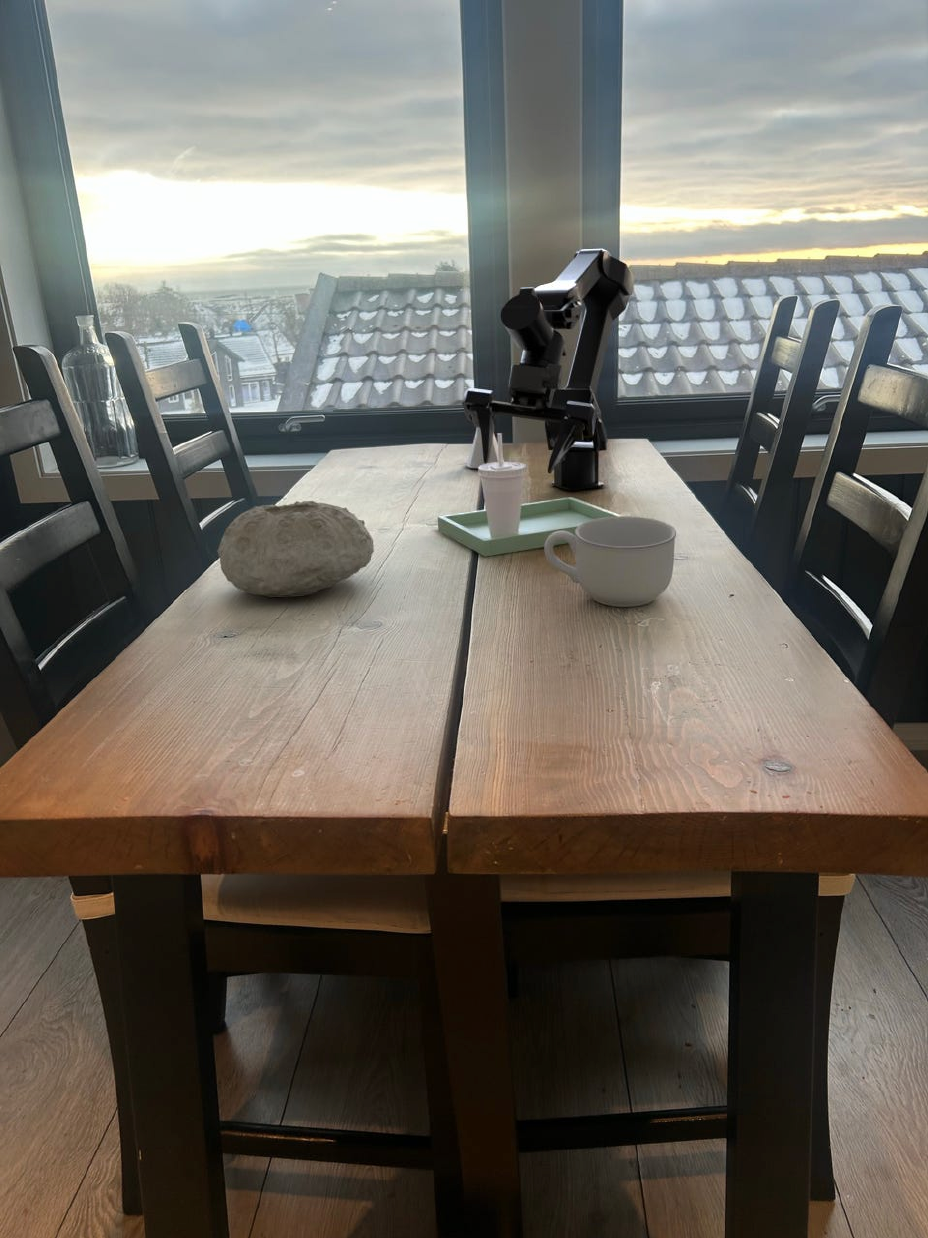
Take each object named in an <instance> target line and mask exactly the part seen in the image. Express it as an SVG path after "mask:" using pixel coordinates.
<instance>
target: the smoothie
mask: <svg viewBox="0 0 928 1238" xmlns="http://www.w3.org/2000/svg"><path fill="white" fill-rule="evenodd" d="M497 444H498V462H493V463H487V464H483V465H480V466H479V467H478V468H477V469H478V470H477V471H478V473H477V474H478V476H479V477H480V480H481V488H482V492H483V499H484V506H485V509H486V512H487V519H488V525H489V531H490V538H496V537H502V536H509V535H515V534H518V533H519V523H520V513H521V504H523V503H522V502H523V493H524V492H523V491H524V483H525V481H524V480H525V476H526V474H527V473H528V472H527V465H526V463H523V462H517V461H504V462H503V459H504V457H503V454H504V453H503V433H502V432H499V433H497Z"/></svg>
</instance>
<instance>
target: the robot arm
mask: <svg viewBox="0 0 928 1238" xmlns="http://www.w3.org/2000/svg"><path fill="white" fill-rule="evenodd" d="M634 289H635V278H634V274H633V273H632V270H630V268H629V266H628V264H627V263H626V262H623V261H622V260H619V259H617V258H615V257H613V256H612V255H611V253H610V252H609V250H606V249H604V248H589V249H580V250H579V251H576V252H575V253H574V256H573V260H572V261H571V262H570V263H569V264H568V265H567V266H566V268H565V269H564V270H563V271H561V273H560V274H559V276H557V278H556V279H555V280H554V281H552V282H550V283H545V284H541V285H538V286H537V287H536V288H534V287H520V288H519V291H518V294H516V295H514V296H513V297H511V298H510V299H509V300H508V301H507V302H506V303H505V304H504V306H502V308H501V310H500V321H501V323H502V325H503V326H504V328H505V330H506V331H507V333H508V334H509V336H510V338H511V339H512V340H513V343H514V344H515V345H516V347H517V348H518V349H520V350H522V352H521V353H522V354H521V357H520V362H519V364H511V367H510V368H511V369H510V374H509V378H508V379H509V380H508V386H507V388H508V389H509V390H508V396H509V398H511V401H504V400H498V399H496V398H495V395H494V390H489V389H482V388H475V387H469V388H467V390H466V391H464V393H463V396H462V401H461V405H462V408H463V412H464V415H465V418H466V420H467V421H469V422H472V424H473V426H474V427H476V428H477V427H478V428H480V430H481V437H482V448H483V459H484V463H485V464H487V463H488V460H489V457H490V452H491V446H492V439H493V433H494V432H495V424H494V421H495V418H496V415H499V416H506V417H513V418H520V419H526V420H527V419H529V420H534V421H542V422H544V430H545V431H544V432H545V436H546V442H547V450H548V451H551V454H550V457H549V461H548V466H547V473H548V474H552V472H553V481H552V482H551V485H552V486H554V487H557V488H559V489H563V490H564V491H568V492H575V491H581V490H589V489H596V488H603V487H605V483H603V482H600V476H599V475H600V470H599V469H600V452H602V451H604V452H605V451H607V447H608V446H607V445H608V432H607V429H606V427H605V424H604V421H603V419H602V412H601V409H600V406H599V404H598V401H597V399H596V394H597V390H598V386H599V381H600V378H601V377H600V376H601V373H602V368H603V364H604V360H605V355H606V351H607V347H608V343H609V339H610V334H611V330H612V327H613V322H614V321H615V320H616V319H617V318H618V317H619V316H620V315H621V314H622V313H623V312H625V310H626V309H627V307H628V303H629V299H630V297H631V296H632V295H633V293H634ZM581 302H582V303H581ZM583 306H584V308H585V311H584V316H583V319H582V324H581V327H580V332H579V336H578V341H577V344H576V349H575V353H574V356H573V359H572V364H571V368H570V372H569V376H568V380H567V384H566V386H565V387H564V388H561V383H562V377H563V365H562V364H561V363H562V359H563V357H565V356H567V348H566V341H565V339H564V338H563V336H562V334H561V333H560V332H559V331H558V330H573V329H574V328H575V327H576V325H577V323H578V322H579V320H580V319H581V315H582V313H583ZM494 434H495V433H494Z"/></svg>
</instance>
